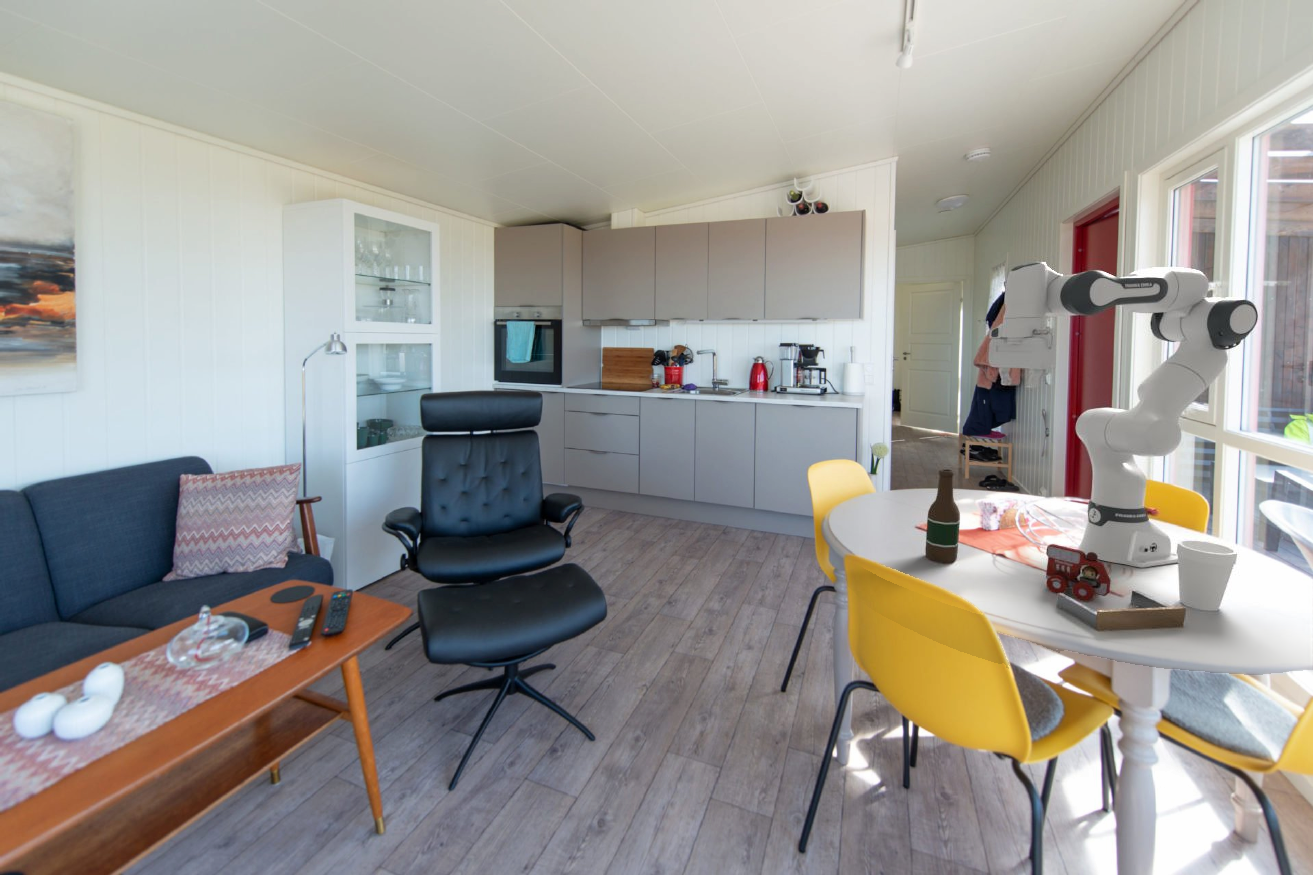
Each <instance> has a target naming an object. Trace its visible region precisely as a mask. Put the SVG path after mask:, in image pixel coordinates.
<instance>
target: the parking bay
mask: <svg viewBox="0 0 1313 875" xmlns="http://www.w3.org/2000/svg"><path fill="white" fill-rule="evenodd" d="M1130 604H1131V605H1133V604H1134V606H1135V607H1137V606H1138V608H1119V609H1118V608H1117V609H1097V610H1094V609H1092V608H1090V607H1089V606H1086V605H1084V604H1082V603H1081V602H1079V601H1078V600H1076V599H1074V598H1072V597H1070V596H1068V595H1066V594H1065V593H1058V594H1057V599H1056V608H1058V609H1060V610H1061V611H1063V612H1065V613H1067V614H1068V615H1070V616H1072V617H1074V618H1075V619H1077V620H1079V621H1080V622H1082V623H1083V624H1085V625H1087V626H1089V627H1090V628H1093V629H1094V630H1096V631H1098V632H1104V631H1105V630H1106V631H1107V630H1109V631H1126V630H1127V631H1128V630H1129V631H1130V629H1131V630H1150V629H1151V630H1152V629H1169V628H1173V629H1174V628H1184V626H1185V618H1186V611H1187V608H1186V607H1184V606H1182V605H1181V606H1171V605H1169V604H1167V603H1165V602H1163V601H1161V600H1159V599H1157V598H1155V597H1152V596H1151V595H1148V594H1146V593H1144V592H1141V591H1139V590H1137V589H1132V590H1131V598H1130ZM1106 631H1105V632H1106Z"/></svg>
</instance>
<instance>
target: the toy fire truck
mask: <svg viewBox="0 0 1313 875" xmlns="http://www.w3.org/2000/svg"><path fill="white" fill-rule="evenodd" d="M1046 556H1047V565H1046V574H1045V579H1046V587H1047V589H1048V590H1049V591H1050V592H1052V593H1053V594H1057V595H1058V593H1063V594H1065V592H1067V591H1068V590H1069V588H1072V589H1071V591H1072V595H1073V596H1074V597H1075V598H1076V599H1077V600H1079V601H1082V602H1090V601H1091V600H1093V599H1094V598H1095V596H1101V597H1106V596H1108V595H1109V594H1110V592H1111V591H1110V589H1111V581H1112V580H1111V578H1110V576H1109V573H1108V571H1107V568H1106V567H1105V564H1104V563H1103V562H1102V560H1099V559H1098V556H1097V554H1096V553H1094V552H1089V553H1088V554H1087V555H1085V553H1084V552H1083V551H1081V550H1078V549H1076V548H1070V547H1067V546H1062V545H1059V544H1055V543H1050V544H1049V545H1047V547H1046ZM1080 575H1081V576H1080Z"/></svg>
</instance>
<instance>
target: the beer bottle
mask: <svg viewBox="0 0 1313 875" xmlns="http://www.w3.org/2000/svg"><path fill="white" fill-rule="evenodd" d="M938 475H939V478H938V485H937V494H936V497H935V500H934V501H933V503H932V504H930V507H929V509H928V511H927V518H926V534H925V536H926V537H925V538H926V539H925V550H924V551H925V558H926V559H928V560H929V561H931V562H935V563H939V564H953V563H955V562H956V560H957V559H958V552H959V538H960V537H959V536H960V523H961V515H960V514H961V513H960V509H959V507H958V505H957V504H956V502H955V500H954V476H955V471H954V470H951V469H947V468H944V469H943V468H942V469H940V470H939V472H938Z"/></svg>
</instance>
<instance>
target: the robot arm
mask: <svg viewBox="0 0 1313 875" xmlns="http://www.w3.org/2000/svg"><path fill="white" fill-rule="evenodd" d="M1209 283H1210V282H1209V279H1208V277H1207V276H1206V275H1205V274H1204V273H1203V272H1202V271H1200V270H1197V269H1192V268H1187V267H1186V268H1184V267H1176V266H1175V267H1173V266H1170V267H1168V266H1167V267H1166V266H1164V267H1152V268H1146V269H1140V270H1137V271H1133V272H1131V273H1129V274H1127V276H1124V277H1123V276H1122V277H1120V276H1119V277H1118V276H1114V275H1112V274H1111V273H1110V274H1109V273H1107V272H1105V271H1102V270H1098V269H1093V270H1086V271H1083V272H1079V273H1074V274H1073V273H1072V274H1066V275H1063V274H1060V273H1057V272H1056V271H1054V270H1052V269H1051V268H1050V267H1049V266H1048V265H1047V263H1046V262H1044V261H1036V262H1031V263H1025V264H1021V265H1017V266H1014V267H1013V268H1012V269H1010V271H1009V273H1008V275H1007V279H1006V283H1005V291H1004V301H1003V302H1004V305H1005V306H1004V307H1005V312H1004V314H1003V317H1002V323H1000V324H999V325H997V326H996V327H994V328H992V329H990V331H989V334H988V335H989V339H991V340H990V342H989V346H988V364H989V365H990V367H994V368H998V373H999V376H1000V379H1001V380H1000V384H1001V385H1002V386H1011V384H1012V380H1013V378H1011V376H1010V374H1009V373H1010V372H1011V369H1029V374H1030V376H1029V379H1027V380H1026V382H1025V387H1026V388H1030V389H1036V388H1037V387H1038V381H1039V379H1040V378H1041V375H1043V370H1053V369H1054V367H1055V366H1056V364H1057V353H1056V352H1057V349H1056V348H1057V347H1056V341H1055V338H1054V337H1055V336H1054V334H1053V332H1051V330H1050V329H1045V321H1046V317H1067V316H1068V317H1069V316H1094V315H1098V314H1101V313H1103V312H1105V311H1107V310H1108V309H1111V308H1112V307H1114V306H1121V307H1122V308H1123V309H1124V310H1125V311H1126V312H1129V313H1138V314H1151V316H1150V322H1149V323H1150V329H1151V330H1150V331H1151V332H1152V335H1153V336H1154V337H1155V338H1157V339H1158V340H1161V341H1166V342H1170V343H1176V342H1178V343H1179V345H1178V347H1177V349H1176V351H1174V353H1173V354H1172V355H1171V356H1169V357H1168V358H1167V359H1166V360H1165V361H1164V362H1162V363H1161V364H1160V365H1159V366H1158V367H1157V368H1156V369H1155V370H1154V371H1152V373H1151V374H1149V375H1147V377H1146V378H1145V379H1144V380H1143V381H1142V382H1141V383H1140V384H1139V385H1138V387H1137V392H1136V393H1137V397H1138V400H1139V402H1138V403H1137V405H1135V406H1134V407H1132V408H1130V409H1121V408H1115V407H1114V408H1113V407H1099V408H1092V409H1091V408H1090V409H1087V410H1085V411H1084V412H1082V413H1081V414H1080V416H1079V417H1078V418H1077V420H1076V423H1075V433H1076V435H1077V437H1078V438H1079V439H1080V440H1081V442H1082V443H1083V444H1084V446H1085V448H1086V451H1087V453H1088V456H1089V459H1090V463H1091V467H1092V468H1091V470H1092V486H1091V494H1090V495H1091V496H1090V499H1089V501H1088V504H1087V518H1088V519H1087V522H1086V527H1085V530H1084V533H1083V535H1082V536H1083V537H1082V539H1081V542H1080V544H1079V545H1078V549H1077V550H1081V551H1083V552H1084V553H1085V556H1087V554H1088V553H1089V552H1094V553H1096V554H1097V556H1098V559H1097V560H1099V561H1105V562H1109V563H1114V564H1123V565H1127V566H1130V567H1135V568H1147V567H1148V568H1149V567H1154V566H1155V567H1156V566H1162V565H1169V564H1178V554H1177V553H1175V552H1173V551H1172V542H1171V538H1170V537H1169V535H1168V534H1167V533H1166V532H1164V531H1163V530H1162V529H1161V528H1159V527H1158V526H1156V525H1155V524H1154V523H1153V522H1151V521H1150V517H1149V516H1151V517H1158V515H1159V514H1160V511H1159V509H1158V508H1153V507H1146V506H1145V500H1146V499H1145V498H1146V490H1147V489H1146V488H1147V476H1146V475H1145V473H1144V472H1143V470H1141V469H1140V468H1139V466H1138V464H1137V463H1136V460H1135V456H1138V457H1147V458H1148V457H1151V458H1152V457H1165V456H1168V455H1171V454H1172V453H1173V452H1174V451H1175V450H1176V449H1177V448H1178V447H1179V445H1180V443H1181V441H1182V429H1181V427H1180V425H1179V420H1180V417H1181V416H1182V414H1183V413H1184V411H1185V410H1187V408H1188V407H1189V406H1190V405H1191V404H1192V403H1193V402H1194V401H1195V400H1196V399H1197V398H1198V397H1200V395H1202V393H1203V392H1205V390H1207V389H1208V388H1209V387H1210V386H1211V385H1212V383H1214V381H1215V380H1216V379H1217V377H1218V376H1220V375H1221V373H1222V371H1223V370H1224V368H1225V366H1226V365H1227V363H1228V360H1229V359H1228V356H1229V355H1228V353H1227V352H1226V351H1227V350H1230V349H1231V350H1232V349H1234V348H1235V347H1237V346H1239V345H1240V344H1241V342H1242V341H1243V340H1244V339H1246V338H1247V337H1248V336H1249V334H1250V333H1252V331H1253V330H1254V328H1255V327H1256V325H1257V323H1258V320H1259V318H1258V317H1259V314H1258V310H1257V307H1256V305H1255V304H1254V302H1252V301H1251V300H1248V299H1245V298H1241V297H1234V296H1232V297H1231V296H1228V297H1225V298H1224V297H1223V298H1222V297H1208V295H1207V294H1208V291H1209V289H1210V288H1209V287H1210V285H1209Z"/></svg>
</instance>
